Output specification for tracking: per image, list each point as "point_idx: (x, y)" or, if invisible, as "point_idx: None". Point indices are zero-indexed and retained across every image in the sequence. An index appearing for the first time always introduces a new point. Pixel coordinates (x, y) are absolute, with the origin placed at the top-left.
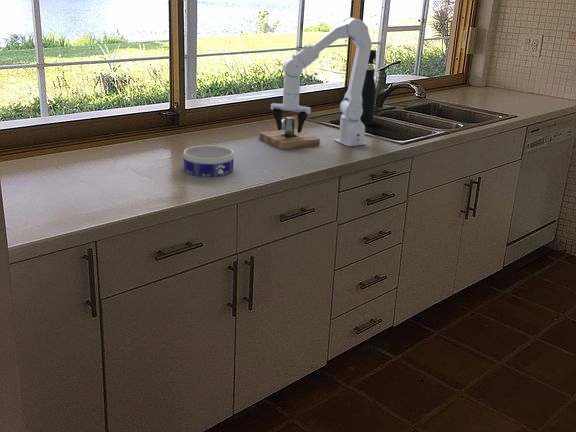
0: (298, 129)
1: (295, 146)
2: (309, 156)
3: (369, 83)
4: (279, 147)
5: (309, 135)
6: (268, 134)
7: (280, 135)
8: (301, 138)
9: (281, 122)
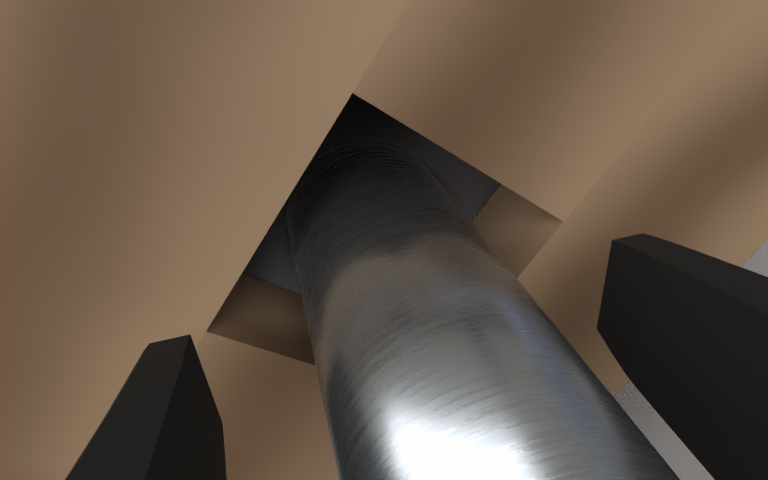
0: (653, 386)
1: None
2: (690, 455)
3: None
4: None
5: (726, 15)
6: (43, 446)
7: (259, 363)
8: None
9: (163, 478)
